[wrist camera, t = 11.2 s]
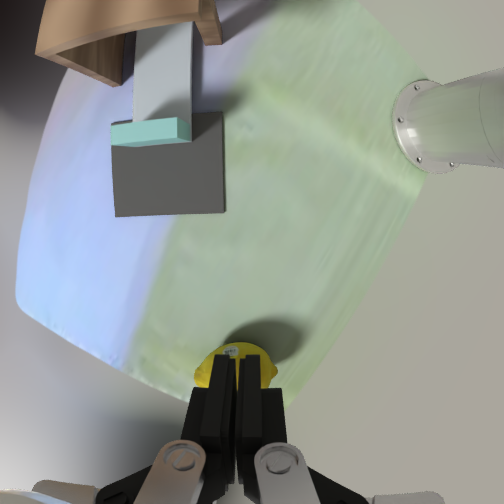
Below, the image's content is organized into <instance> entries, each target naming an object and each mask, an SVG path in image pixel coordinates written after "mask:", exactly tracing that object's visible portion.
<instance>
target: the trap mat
mask: <svg viewBox="0 0 504 504" xmlns="http://www.w3.org/2000/svg"><path fill="white" fill-rule="evenodd" d="M132 122H133V120H131V121H125V122H118V123H112V124H111V126H113V125H119V124H125V123H132ZM111 152H112V177H113V193H114V206H115V217H129V216H150V215H175V214H208V213H224V193H223V146H222V112H209V113H194V114H192V142H185V143H172V144H161V145H151V146H141V147H129V146H116V145H111Z"/></svg>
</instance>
